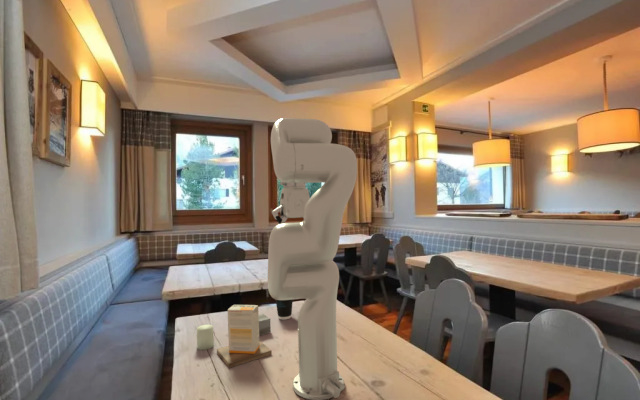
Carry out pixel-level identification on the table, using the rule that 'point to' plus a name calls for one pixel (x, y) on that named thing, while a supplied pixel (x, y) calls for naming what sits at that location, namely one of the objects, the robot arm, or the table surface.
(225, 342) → the table surface
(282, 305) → the dixie cup
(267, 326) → the gray block
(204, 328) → the sage capsule
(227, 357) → the tan board
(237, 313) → the supplement box
